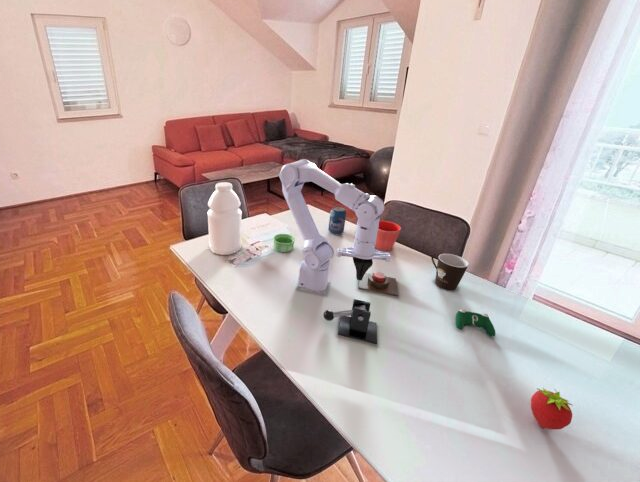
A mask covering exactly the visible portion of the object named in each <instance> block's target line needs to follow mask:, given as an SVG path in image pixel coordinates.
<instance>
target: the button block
mask: <svg viewBox="0 0 640 482" xmlns="http://www.w3.org/2000/svg"><path fill="white" fill-rule="evenodd" d="M374 273H375V272H373V273H370V272H369V273H368V272H366V273H365V274H364V276H363V278H362V280H358V289H359V290H362V291H366V292H367V291H368V292H373V293H378V294H383V295H387V296H392V297H399V290H398V285H397V284H398V283H397V279H396V278H395V277H391V276H386V275H385V280H384V282H377V281H375V280H374V279H373V275H374Z"/></svg>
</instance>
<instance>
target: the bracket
mask: <svg viewBox="0 0 640 482" xmlns="http://www.w3.org/2000/svg"><path fill="white" fill-rule="evenodd" d="M360 305H365V307H366V309H367V311H365V310H360V309H356V308H355V306H360ZM370 309H371V301H365V300H360V299H356V298H353V301H352V307H351V310H353V312H352V315H350V316H341V317H339V323H338V330H337V331H338V333H337V336H341V337H345V338H349V339H353V340H357V341H362V342H365V343H370V344H374V345H378V327H377V326H378V325H377V322H376V321H370V320H371V314H372V313H371V312H372V311H370Z"/></svg>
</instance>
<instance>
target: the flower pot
mask: <svg viewBox="0 0 640 482" xmlns="http://www.w3.org/2000/svg"><path fill="white" fill-rule="evenodd" d="M401 230H402V227H401V226H400V225H399V224H397V223H395V222H392V221H388V220H379V228H378V233H377V239H376V244H375V249H376V250H379V251H390V250H392V249H393V248H394V246H395V243H396V241H397V239H398V237H399V235H400V232H401Z"/></svg>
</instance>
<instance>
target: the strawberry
mask: <svg viewBox="0 0 640 482" xmlns="http://www.w3.org/2000/svg"><path fill="white" fill-rule="evenodd" d="M536 390H537V391H535V393H533V394H532V396H531V397H530V409H531V413H532V414H533V418H534V419H535V421H536V422H537V425H538V426H539V428H540V429H544V430H545V429H546V430H554V431H555V430H557V431H558V430H563V429H564V428H566V427H568V426H569V425H571V422H572V419H573V412H572V409H571V407H570V406H573V404H572V403H570V402H569V400H568V399H565V398H563V397H561V392H560V391H557V390H556V389H554V391H555V392H553V391H550V390H547V389H545V388H544V387H543V388H542V389H541V388H538V387H536Z"/></svg>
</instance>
